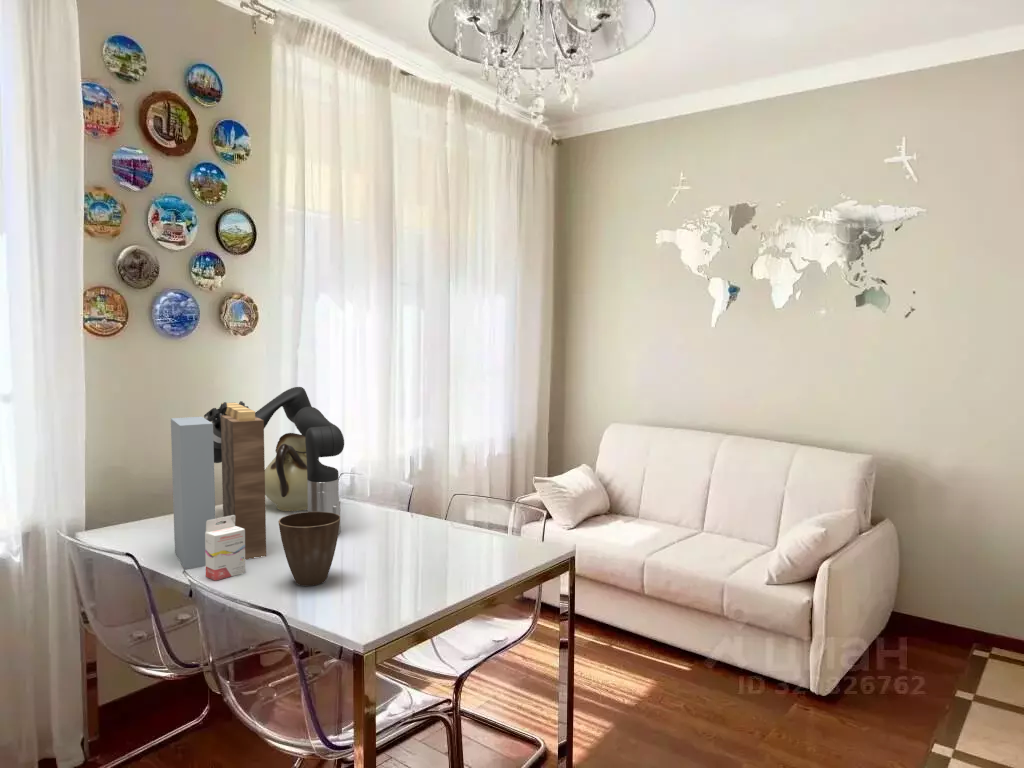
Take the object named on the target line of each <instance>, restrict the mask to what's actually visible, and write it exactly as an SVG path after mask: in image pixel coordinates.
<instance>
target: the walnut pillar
mask: <svg viewBox="0 0 1024 768" xmlns="http://www.w3.org/2000/svg"><path fill="white" fill-rule="evenodd" d="M221 450H222V462H221V483H222V484H221V485H222V489H221V491H222V517H226V516H231V515H235V526H237V527H240V528H243V529H245V559H246V560H250V559H249V558H252V559H255V558H254V557H259V558H262V557H261V556H265V557H267V525H266V523H267V522H266V520H267V518H266V514H267V513H266V495H265V469H266V468H265V428H264V420H262V419H260V418H258V417H255V421H238V420H236V419H234V418H233V417H231V416H229V415H221ZM224 523H226V521H222V524H224Z"/></svg>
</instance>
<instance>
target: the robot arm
mask: <svg viewBox="0 0 1024 768" xmlns="http://www.w3.org/2000/svg"><path fill="white" fill-rule="evenodd" d="M222 403H223V404H220V406H219V407H218V408H217V407H213V408H211V409H210V410H208V411H207V412H206V413H205V414H204V415H203V418H205V419H206V420H208V421H210V422H211V423H213V443H214V464H220V463H221V464H222V450H221V415H227V414H225V412H226V410H227V403H228V402H226V401H225V402H224V401H223V402H222ZM238 404H239V405H242V406H244V407H246V408H249V406H246V404H245V402H243V401H241V400H240V401H239V403H238ZM281 408H283V411H284V413H285V416H286V418H287V419H288V421H290V422H292V423H293V424H294V426H295V427H296V429H297V430H298V432H299V434H300V435H303V436H304V437H305V444H306V457H307V493H308V509H307V512H330V513H335V514H337V515H339V516H340V517H341V501H339V500H340V498H339V497H340V495H339V493H340V491H339V482H340V481H339V478H340V477H339V474H340V473H339V470H338V468H335V467H333V466H328V465H325V464H323V463H322V462H321V461H320V459H319V458H329V457H336V456H338V455H340V454H341V453H342V452H343V450H344V448H345V439H344V434H343V433H342V430H341V429H340V428H339V426H337V425H335V423H334V424H333V423H332V422H331V421H329V420H328V418H326V416H325V415H324V414H323V413H322V412H321V411H320V410H319V409H318V408H316V407H313V406H312V404H311V401H310V399H309V396H308V393H307V392H306V390H305V388H304V387H302V386H294V387H291V388H288V389H286V390H285V391H283V392H281V393H280V394H279V395H277V396H276V397H274V398H273V399H272V400H271V401H270V400H269V402H267V403H266V404H265V405H263V406H262V407H261V408H259V409H258V410H256V411H255V417H258V418H260V419H262V420H264V429H265V428H266V427H267V425H268V423H269V422H270V420H271V419H272V417H273V416H274V415H275V413H276V412H277V411H278V410H279V409H281ZM249 409H250V408H249ZM319 461H320V462H321V463H322V464H321V463H320V462H319ZM341 523H342V522H341V520H340V524H339V532H338V536H339V534H340V533H341V528H342V527H341Z"/></svg>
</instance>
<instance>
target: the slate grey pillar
mask: <svg viewBox="0 0 1024 768" xmlns="http://www.w3.org/2000/svg"><path fill="white" fill-rule="evenodd" d="M170 437H171V438H170V440H171V464H172V465H171V466H172V468H171V469H172V471H171V473H172V475H171V476H172V499H173V500H172V501H173V502H172V504H173V506H172V507H173V530H174V531H173V533H174V538H173V539H174V540H173V541H174V554H175V557H177V559H178V560H179V562H180V564H181V567H182V568H183V570H190V569H196V568H202V567H203V568H204V567H206V560H205V532H206V521H207V520H212V519H216V495H215V494H216V491H215V488H216V487H215V485H216V484H215V463H214V443H213V423H212V422H210V421H208V420H206V419H205V418H204V416H188V417H172V418H170Z"/></svg>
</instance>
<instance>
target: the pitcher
mask: <svg viewBox="0 0 1024 768" xmlns="http://www.w3.org/2000/svg"><path fill="white" fill-rule="evenodd" d="M275 447H276V448H275V453H276V455H275V457H274V458H273V459H272V461H270V463H269V464H268V465H266V466H267V467H266V468H265V497H267V498H268V500H269V501H271V503H273V504H274V505H276V509H277V510H279V511H283V512H301V511H306V510H307V511H308V493H307V457H306V444H305V437H304V436H303V435H302V434H301V433H294V432H287V433H285V434H283V435H281V436H280V437H279V439H278V441H277V444H276V446H275ZM319 462H320V463H321V464H323V463H322V462H321V461H320V460H319Z"/></svg>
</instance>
